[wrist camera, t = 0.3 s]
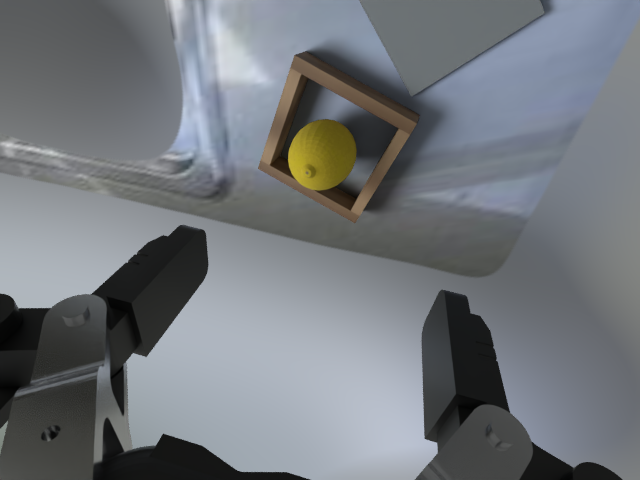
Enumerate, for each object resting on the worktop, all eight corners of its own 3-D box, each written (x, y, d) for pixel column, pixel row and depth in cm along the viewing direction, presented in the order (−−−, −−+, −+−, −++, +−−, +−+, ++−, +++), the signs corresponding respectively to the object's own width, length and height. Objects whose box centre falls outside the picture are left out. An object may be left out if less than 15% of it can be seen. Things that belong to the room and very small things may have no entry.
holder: (305, 51, 29) (294, 55, 27) (419, 115, 29) (416, 123, 27) (268, 159, 36) (257, 168, 34) (360, 211, 36) (354, 223, 34)
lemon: (375, 154, 32) (354, 192, 26) (325, 175, 35) (296, 213, 28) (348, 97, 30) (318, 124, 24) (298, 125, 33) (260, 155, 26)
